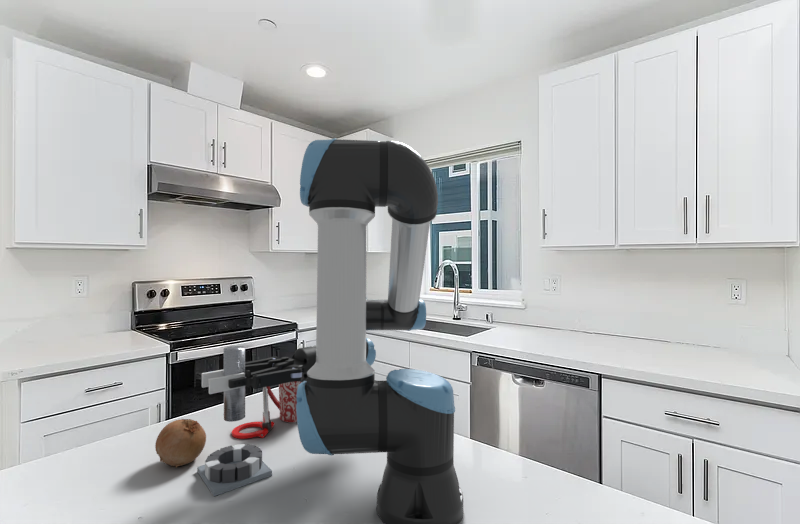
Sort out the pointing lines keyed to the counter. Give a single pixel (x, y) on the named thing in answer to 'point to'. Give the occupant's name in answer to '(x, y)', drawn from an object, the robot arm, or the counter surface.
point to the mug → (286, 400)
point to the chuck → (233, 468)
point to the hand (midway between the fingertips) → (205, 383)
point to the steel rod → (236, 397)
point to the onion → (180, 442)
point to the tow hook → (265, 425)
